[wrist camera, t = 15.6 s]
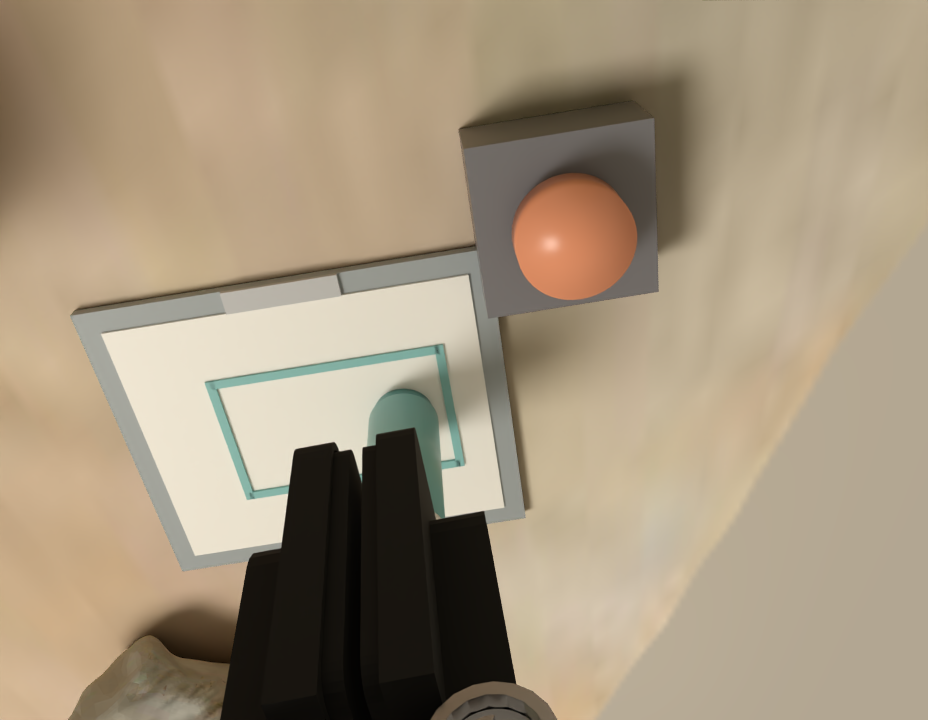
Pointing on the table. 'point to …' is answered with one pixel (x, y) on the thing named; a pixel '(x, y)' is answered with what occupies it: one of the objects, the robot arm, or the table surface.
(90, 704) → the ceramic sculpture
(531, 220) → the button
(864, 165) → the table surface
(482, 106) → the table surface
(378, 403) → the marker
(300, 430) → the white flat board
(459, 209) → the table surface
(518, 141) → the button housing
